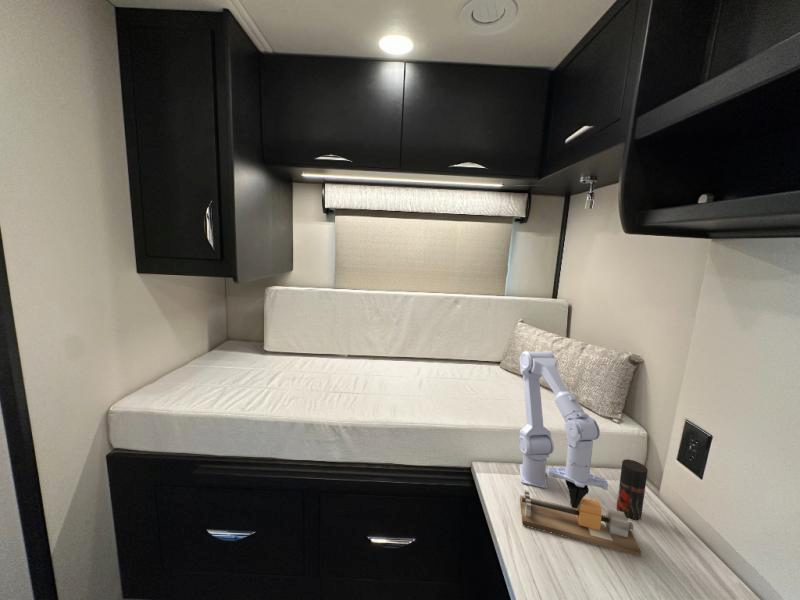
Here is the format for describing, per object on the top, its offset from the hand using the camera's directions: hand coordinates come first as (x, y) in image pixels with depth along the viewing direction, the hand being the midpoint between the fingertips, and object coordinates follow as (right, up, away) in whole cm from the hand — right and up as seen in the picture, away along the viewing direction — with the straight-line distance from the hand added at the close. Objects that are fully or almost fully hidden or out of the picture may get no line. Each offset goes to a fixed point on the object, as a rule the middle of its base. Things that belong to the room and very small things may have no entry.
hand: (573, 505), depth 86 cm
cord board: (0, -6, +1) cm, 6 cm away
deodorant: (+20, -6, +6) cm, 22 cm away
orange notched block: (+3, -4, -1) cm, 5 cm away
